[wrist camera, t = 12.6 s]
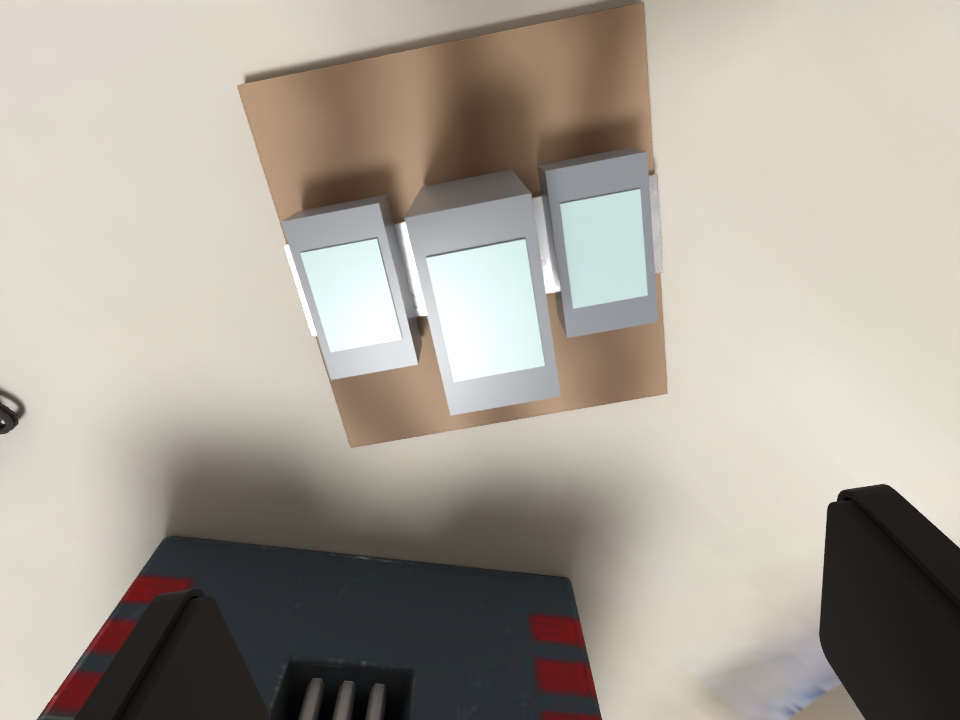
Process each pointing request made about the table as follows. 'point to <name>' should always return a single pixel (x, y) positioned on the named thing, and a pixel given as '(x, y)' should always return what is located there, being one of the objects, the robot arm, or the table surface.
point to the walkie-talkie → (7, 419)
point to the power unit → (368, 635)
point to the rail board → (463, 154)
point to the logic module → (484, 291)
